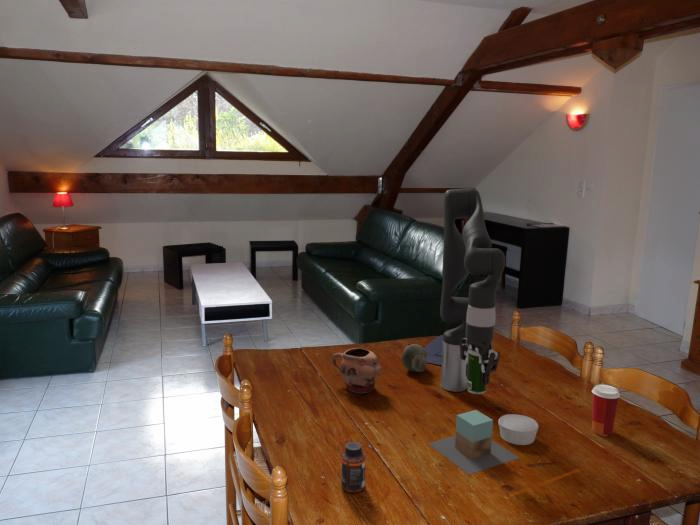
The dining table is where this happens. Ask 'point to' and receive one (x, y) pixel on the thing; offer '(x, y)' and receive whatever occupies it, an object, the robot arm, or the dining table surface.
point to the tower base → (473, 446)
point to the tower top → (474, 426)
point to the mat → (476, 464)
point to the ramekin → (518, 429)
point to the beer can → (475, 373)
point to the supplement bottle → (353, 468)
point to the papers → (435, 351)
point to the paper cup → (604, 408)
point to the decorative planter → (358, 369)
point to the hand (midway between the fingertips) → (476, 380)
